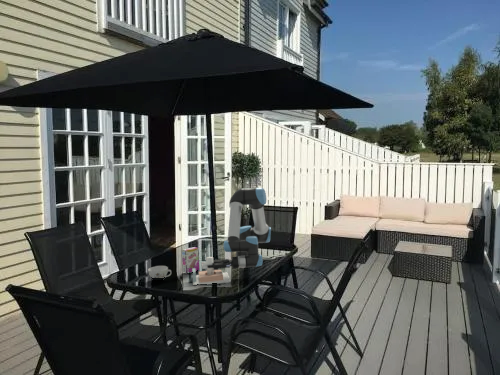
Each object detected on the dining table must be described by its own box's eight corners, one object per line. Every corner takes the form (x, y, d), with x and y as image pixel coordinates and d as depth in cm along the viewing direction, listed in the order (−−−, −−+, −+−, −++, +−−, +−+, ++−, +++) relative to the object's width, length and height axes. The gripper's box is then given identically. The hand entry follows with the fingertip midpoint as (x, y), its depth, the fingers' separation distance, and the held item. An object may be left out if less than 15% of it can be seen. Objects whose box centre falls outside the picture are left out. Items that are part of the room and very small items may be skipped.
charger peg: (207, 277, 271) (205, 257, 271) (214, 276, 272) (212, 256, 272) (207, 279, 267) (206, 258, 267) (214, 278, 267) (213, 257, 267)
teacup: (145, 283, 269) (144, 270, 269) (152, 277, 282) (151, 265, 281) (168, 282, 267) (167, 270, 267) (174, 277, 280) (173, 265, 279)
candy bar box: (186, 274, 285) (185, 250, 284) (182, 273, 288) (180, 249, 287) (200, 270, 292) (198, 247, 291) (195, 269, 296) (194, 246, 295)
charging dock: (192, 277, 278) (191, 266, 277) (227, 273, 281) (226, 263, 280) (193, 285, 258) (192, 274, 257) (230, 282, 261) (230, 270, 261)
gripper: (240, 271, 263) (202, 275, 259) (236, 264, 281) (201, 267, 277) (239, 259, 262) (202, 263, 259) (236, 253, 280) (200, 256, 277)
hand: (201, 265), depth 268 cm, fingers open, 5 cm apart
